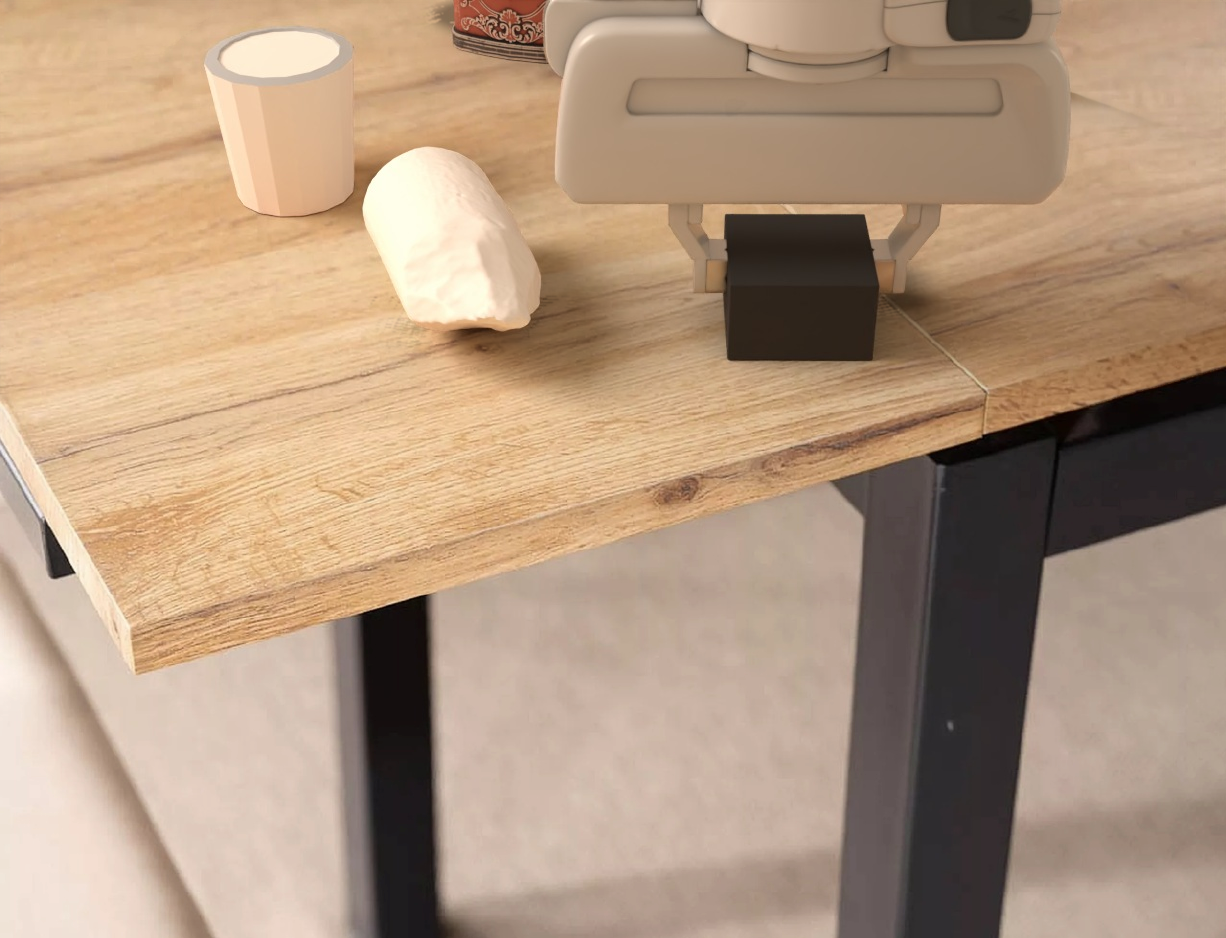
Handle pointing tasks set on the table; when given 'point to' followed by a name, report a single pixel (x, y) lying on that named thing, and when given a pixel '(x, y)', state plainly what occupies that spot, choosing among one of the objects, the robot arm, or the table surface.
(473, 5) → the red decorated tin
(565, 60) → the robot arm
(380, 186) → the roll
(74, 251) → the table surface
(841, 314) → the black block
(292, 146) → the peach cup
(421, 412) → the table surface
